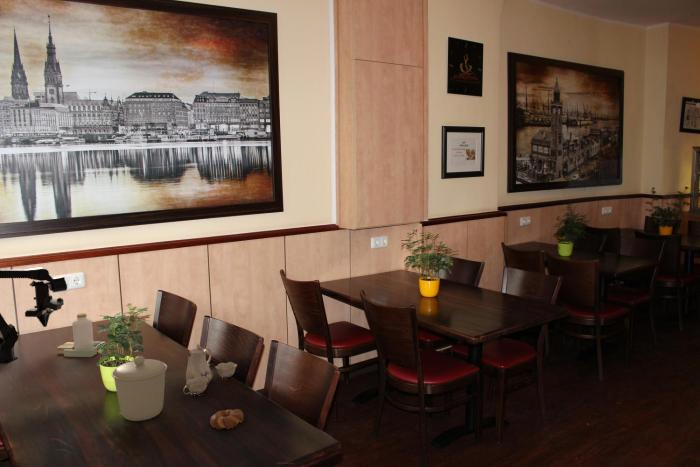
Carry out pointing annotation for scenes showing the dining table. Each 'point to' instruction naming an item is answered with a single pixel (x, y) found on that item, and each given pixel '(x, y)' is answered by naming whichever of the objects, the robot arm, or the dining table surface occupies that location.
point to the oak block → (65, 347)
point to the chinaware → (203, 370)
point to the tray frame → (82, 352)
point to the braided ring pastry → (226, 419)
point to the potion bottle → (82, 333)
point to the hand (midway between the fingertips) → (45, 326)
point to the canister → (140, 388)
